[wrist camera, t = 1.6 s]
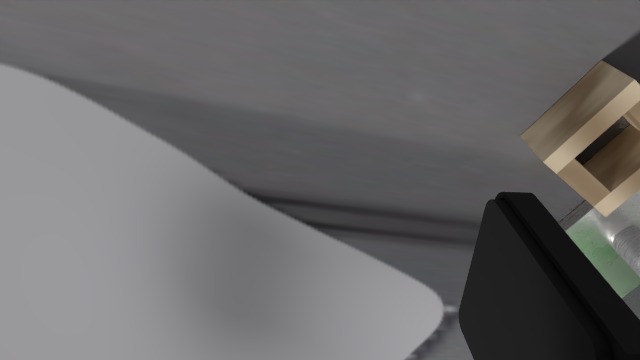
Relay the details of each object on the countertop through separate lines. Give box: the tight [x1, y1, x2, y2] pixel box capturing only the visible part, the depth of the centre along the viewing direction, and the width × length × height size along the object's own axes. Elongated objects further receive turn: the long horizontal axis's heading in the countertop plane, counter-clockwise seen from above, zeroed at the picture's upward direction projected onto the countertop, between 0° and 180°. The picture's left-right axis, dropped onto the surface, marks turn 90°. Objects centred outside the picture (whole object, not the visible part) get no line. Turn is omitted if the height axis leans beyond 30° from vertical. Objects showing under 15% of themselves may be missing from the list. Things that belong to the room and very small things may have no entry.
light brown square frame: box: [520, 60, 640, 217], centre depth 39 cm, size 7×7×4 cm
